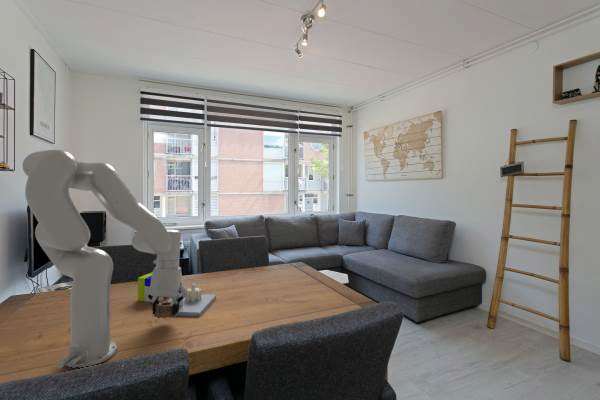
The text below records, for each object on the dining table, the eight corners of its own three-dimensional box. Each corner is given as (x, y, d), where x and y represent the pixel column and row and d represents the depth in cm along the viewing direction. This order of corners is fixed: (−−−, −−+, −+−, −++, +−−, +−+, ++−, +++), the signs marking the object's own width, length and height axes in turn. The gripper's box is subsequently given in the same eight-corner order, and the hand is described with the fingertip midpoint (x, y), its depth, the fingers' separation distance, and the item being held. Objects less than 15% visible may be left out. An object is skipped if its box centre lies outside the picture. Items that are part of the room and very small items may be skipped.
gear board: (199, 316, 114) (199, 295, 114) (154, 314, 115) (154, 294, 115) (216, 298, 133) (216, 280, 133) (177, 296, 134) (177, 279, 134)
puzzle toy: (158, 302, 127) (158, 279, 127) (138, 300, 129) (137, 277, 129) (172, 294, 137) (172, 273, 136) (153, 292, 139) (153, 271, 138)
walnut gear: (169, 319, 104) (170, 307, 104) (151, 317, 104) (152, 306, 104) (178, 312, 110) (178, 301, 110) (161, 311, 110) (161, 300, 110)
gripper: (138, 264, 104) (135, 315, 104) (187, 267, 103) (184, 319, 103) (150, 260, 111) (148, 308, 111) (195, 263, 111) (193, 311, 110)
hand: (165, 313), depth 107 cm, fingers closed on walnut gear, 6 cm apart
